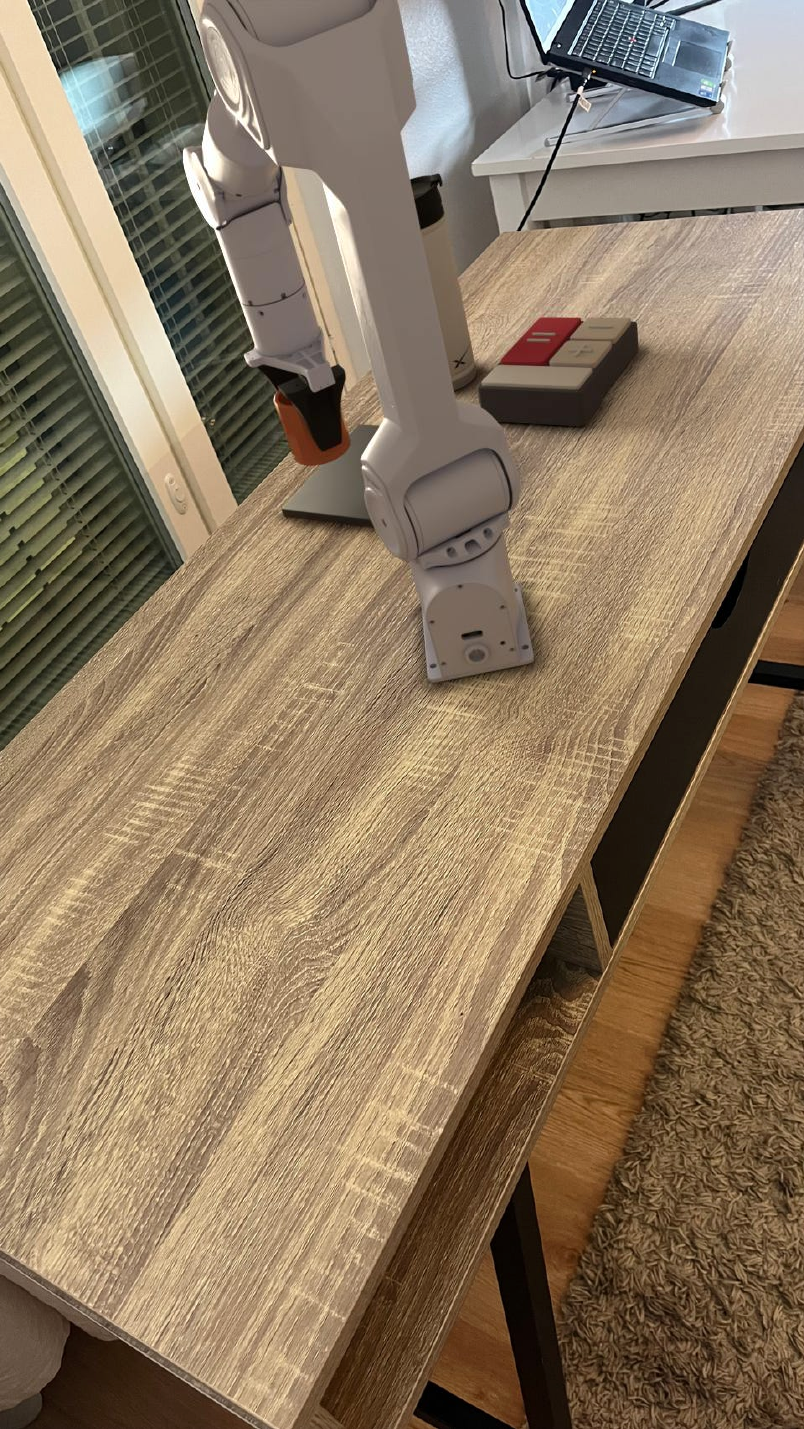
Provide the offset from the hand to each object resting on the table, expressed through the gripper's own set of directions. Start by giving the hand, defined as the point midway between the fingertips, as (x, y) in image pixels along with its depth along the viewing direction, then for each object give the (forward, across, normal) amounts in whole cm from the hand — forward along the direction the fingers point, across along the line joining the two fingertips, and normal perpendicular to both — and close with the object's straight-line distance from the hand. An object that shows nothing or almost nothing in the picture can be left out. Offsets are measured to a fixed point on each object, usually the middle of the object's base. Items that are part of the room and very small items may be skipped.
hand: (318, 433), depth 99 cm
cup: (+2, 0, 0) cm, 2 cm away
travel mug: (+7, -11, +18) cm, 22 cm away
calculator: (+7, -1, +26) cm, 26 cm away
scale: (+6, 0, +4) cm, 7 cm away
